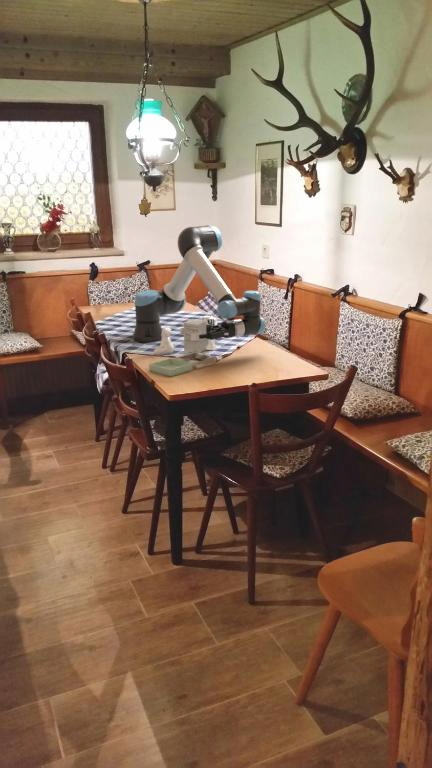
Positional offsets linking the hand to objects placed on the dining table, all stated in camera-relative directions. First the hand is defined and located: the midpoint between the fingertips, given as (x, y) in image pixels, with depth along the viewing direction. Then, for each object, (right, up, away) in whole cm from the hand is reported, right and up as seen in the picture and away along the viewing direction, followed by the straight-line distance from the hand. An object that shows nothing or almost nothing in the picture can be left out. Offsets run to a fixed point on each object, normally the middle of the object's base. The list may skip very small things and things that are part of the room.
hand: (185, 334), depth 251 cm
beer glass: (+10, -5, +28) cm, 30 cm away
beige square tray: (+4, -12, +6) cm, 14 cm away
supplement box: (+4, -7, +5) cm, 9 cm away
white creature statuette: (-11, -7, +22) cm, 26 cm away
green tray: (-6, -15, -4) cm, 17 cm away
